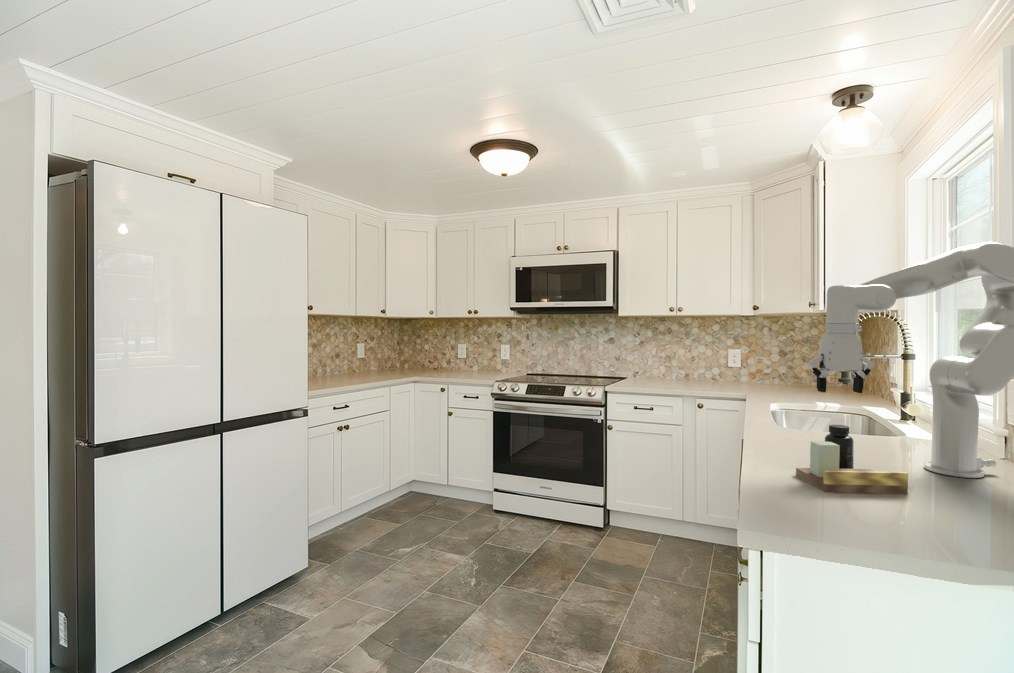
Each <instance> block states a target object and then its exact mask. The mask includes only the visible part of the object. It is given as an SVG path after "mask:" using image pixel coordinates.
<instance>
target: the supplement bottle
mask: <svg viewBox="0 0 1014 673" xmlns="http://www.w3.org/2000/svg"><path fill="white" fill-rule="evenodd" d="M849 434H850V426H848V425H845V424H844V425H842V424H829V425H828V434H826V435H825V436H824V442H832V443H835V444H837V445H840V456H839V469H854V444H855V440H854V439H853V437H851V436H850V435H849Z"/></svg>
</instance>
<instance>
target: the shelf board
mask: <svg viewBox="0 0 1014 673" xmlns="http://www.w3.org/2000/svg"><path fill="white" fill-rule="evenodd" d="M796 475H797V476H796ZM795 476H796V477H798V478H800V479H802V480H803V479H804V480H803V481H805V482H806V483H808V482H809V484H811V485H812V486H814V487H815V488H817V489H819V490H820V489H821V491H822V492H824V493H826V492H834V494H835V493H836V494H837V493H838V494H840V493H841V494H879V495H880V494H882V495H884V494H885V495H886V494H887V495H897V494H898V495H908V494H909V493H908V492H909V473H908V472H906V471H875V470H873V469H870V468H853V469H839V471H824V477H818V476H816V475H814V474H812V473H810V467H796V468H795Z"/></svg>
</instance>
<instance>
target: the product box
mask: <svg viewBox="0 0 1014 673" xmlns="http://www.w3.org/2000/svg"><path fill="white" fill-rule="evenodd" d="M809 452H810V454H809V455H810V457H809V468H810V473H812V474H814V475H816V476H818V477H824V471H839V456H840V445H837V444H835V443H832V442H825V441H810V451H809Z"/></svg>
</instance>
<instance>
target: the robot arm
mask: <svg viewBox="0 0 1014 673" xmlns="http://www.w3.org/2000/svg"><path fill="white" fill-rule="evenodd" d="M974 277H981V278H980V279H981V280H980V281H981V284H982V287H983V290H984V292H985V295H986V296H985V297H986V302H985V305H984V308H983V309H982V310H981V313H979V314H978V316H977V317H976V318H975V319H974V321H973V322H972V323H971V324H970V326H969V327H968V328H967V329H966V331H964V333H963V335H962V337H961V338H960V340H959V348H960V350H961V351H962V353H963V354H965V355H966V356H959V355H958V356H957V355H948V356H944V357H941V358H939V359H937V360H935V361H934V362H933V363H932V365H931V367H930V369H929V381H930V386H931V390H932V391H931V392H932V419H931V420H932V425H931V427H932V428H931V456H930V457H931V459H930V461H926V462H924V463H923V468H924V469H926V470H928V471H930V472H933V473H936V474H940V475H945V476H950V477H957V478H965V479H966V478H968V479H977V478H979V479H980V478H983V477H985V471H984V470H983V469H982V468H984V467H987V468H988V467H989V468H990V467H992V468H993V467H996V465H997V462H996V460H994V459H982V457H979V456H978V445H979V443H978V442H979V418H980V417H979V416H980V407H979V402H978V399H977V397H976V396H981V397H982V396H983V397H987V396H992V395H995V394H997V393H998V392H1000V391H1001V390H1003V389H1004V388H1005V387H1006V386H1007V385H1008V384H1009V382H1010V381H1011V380H1012V379H1013V378H1014V247H1013V246H1011V245H1007V244H1004V243H998V242H993V241H988V242H981V243H976V244H970V245H965V246H960V247H957V248H955V249H952V250H950V251H947V252H944V253H942V254H940V255H937V256H935V257H931V258H929V259H927V260H924V261H921V262H919V263H916V264H914V265H911V266H908V267H904V268H902V269H899V270H897V271H894V272H891V273H887V274H884V275H882V276H879V277H876V278H873V279H871V280H870V279H869V280H868V281H866V282H863V283H860V284H858V285H852V284H839V285H838V284H837V285H831V286H829V287H828V288H827V291H826V311H825V314H826V315H825V334H822V336H821V338H820V341H819V347H818V353H817V356H815V357H813V358H812V359H810V360H808V361H807V365H808V368H809V369H810V372H812V373H813V375H814V376H815V377H816V389H817V391H818V392H820V393H827V382H828V381H827V377H826V375H827V374H829V372H851V373H852V374H853V375H854V377H853V381H852V392H853V393H858V394H863V390H864V383H865V382H864V380H865V379H866V377H867V376H868V375H869V374H870V373H871V370H872V369H873V367H874V365H875V362H874V361H872V360H870V359H868V358H866V357H864V353H863V345H862V344H863V343H862V339H861V336H860V335H859V332H862V331H863V327H862V326H860V325H859V313H881V312H885V311H888V310H890V309H891V308H892V307H893V306H894V305H895V303H896V302H897V300H899V299H905V298H910V297H912V298H913V297H917V296H923V295H927V294H931V293H934V292H937V291H938V290H942V289H943V288H946V287H949V286H952V285H954V284H956V283H961V282H962V281H965V280H967V279H970V278H974ZM816 365H817V366H816ZM863 365H864V367H863Z"/></svg>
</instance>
